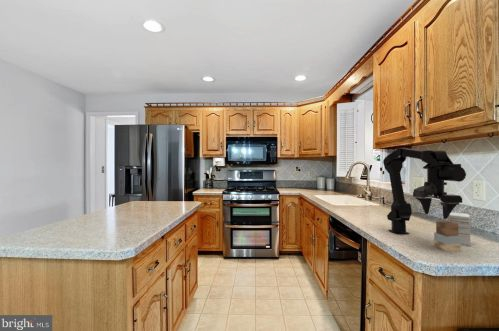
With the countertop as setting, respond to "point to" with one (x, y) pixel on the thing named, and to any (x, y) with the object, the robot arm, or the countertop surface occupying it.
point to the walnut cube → (447, 228)
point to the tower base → (447, 246)
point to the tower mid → (447, 239)
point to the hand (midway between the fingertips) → (435, 216)
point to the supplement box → (462, 226)
